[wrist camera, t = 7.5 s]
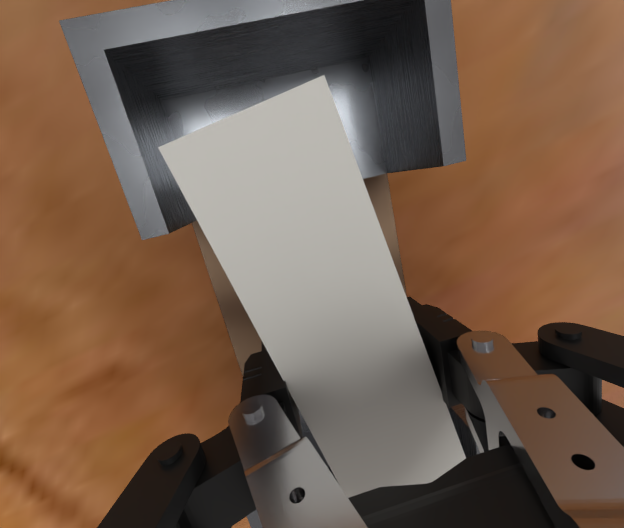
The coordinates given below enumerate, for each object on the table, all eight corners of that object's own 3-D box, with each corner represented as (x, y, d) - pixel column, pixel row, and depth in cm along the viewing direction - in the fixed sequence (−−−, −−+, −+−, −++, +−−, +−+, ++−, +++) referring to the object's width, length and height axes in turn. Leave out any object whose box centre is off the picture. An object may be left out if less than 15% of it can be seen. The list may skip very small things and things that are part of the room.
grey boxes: (155, 100, 15) (59, 20, 8) (364, 56, 16) (446, -50, 9) (275, 464, 21) (281, 607, 14) (423, 416, 22) (501, 528, 15)
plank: (156, 87, 17) (142, 74, 15) (352, 47, 18) (363, 29, 16) (275, 455, 23) (276, 479, 21) (415, 410, 24) (428, 429, 22)
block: (195, 162, 11) (158, 147, 7) (302, 115, 11) (324, 74, 7) (361, 487, 15) (396, 590, 11) (436, 449, 15) (495, 538, 11)
